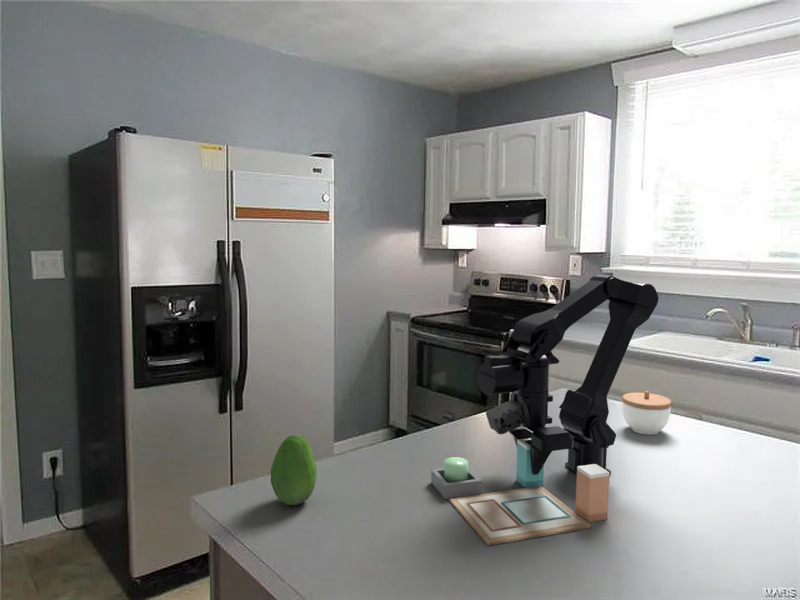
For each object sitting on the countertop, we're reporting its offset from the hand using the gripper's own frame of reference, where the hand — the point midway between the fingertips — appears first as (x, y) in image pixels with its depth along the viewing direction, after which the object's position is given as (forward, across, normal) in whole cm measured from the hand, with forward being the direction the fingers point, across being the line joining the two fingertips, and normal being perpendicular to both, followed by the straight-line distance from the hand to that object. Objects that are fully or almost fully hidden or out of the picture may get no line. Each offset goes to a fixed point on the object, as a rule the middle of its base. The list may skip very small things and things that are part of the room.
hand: (529, 470), depth 108 cm
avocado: (+3, -5, -43) cm, 43 cm away
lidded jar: (+3, -18, +41) cm, 45 cm away
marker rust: (+3, +14, +4) cm, 15 cm away
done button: (+1, -2, -14) cm, 14 cm away
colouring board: (+2, +10, -8) cm, 13 cm away
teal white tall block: (+2, 0, 0) cm, 2 cm away
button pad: (+2, -2, -14) cm, 14 cm away
